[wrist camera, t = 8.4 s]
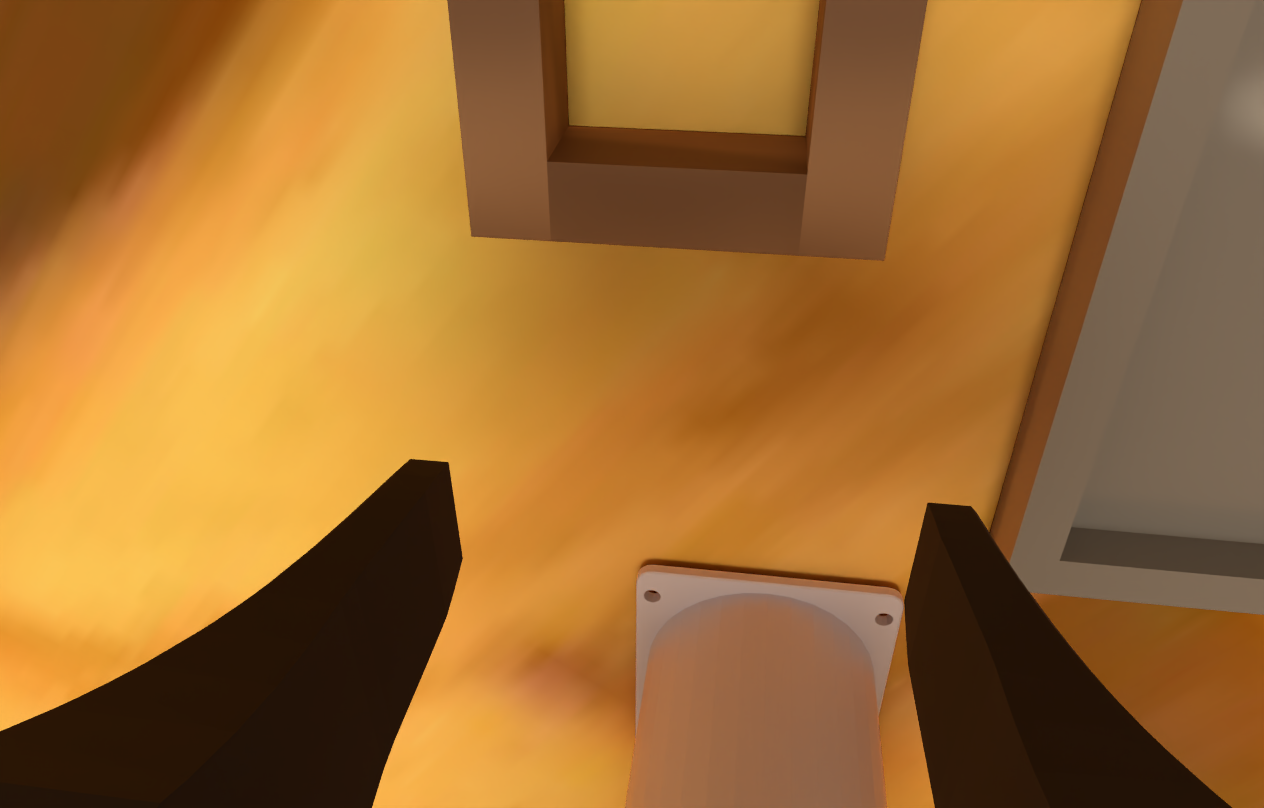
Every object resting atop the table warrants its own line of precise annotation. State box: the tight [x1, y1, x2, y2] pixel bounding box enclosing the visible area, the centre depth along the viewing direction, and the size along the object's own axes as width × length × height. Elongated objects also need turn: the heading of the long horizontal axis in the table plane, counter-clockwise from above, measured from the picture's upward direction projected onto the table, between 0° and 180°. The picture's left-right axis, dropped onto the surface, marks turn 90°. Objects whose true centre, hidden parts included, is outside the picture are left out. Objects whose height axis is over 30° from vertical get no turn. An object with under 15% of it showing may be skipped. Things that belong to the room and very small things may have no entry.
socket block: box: [447, 0, 927, 261], centre depth 19 cm, size 9×9×2 cm
